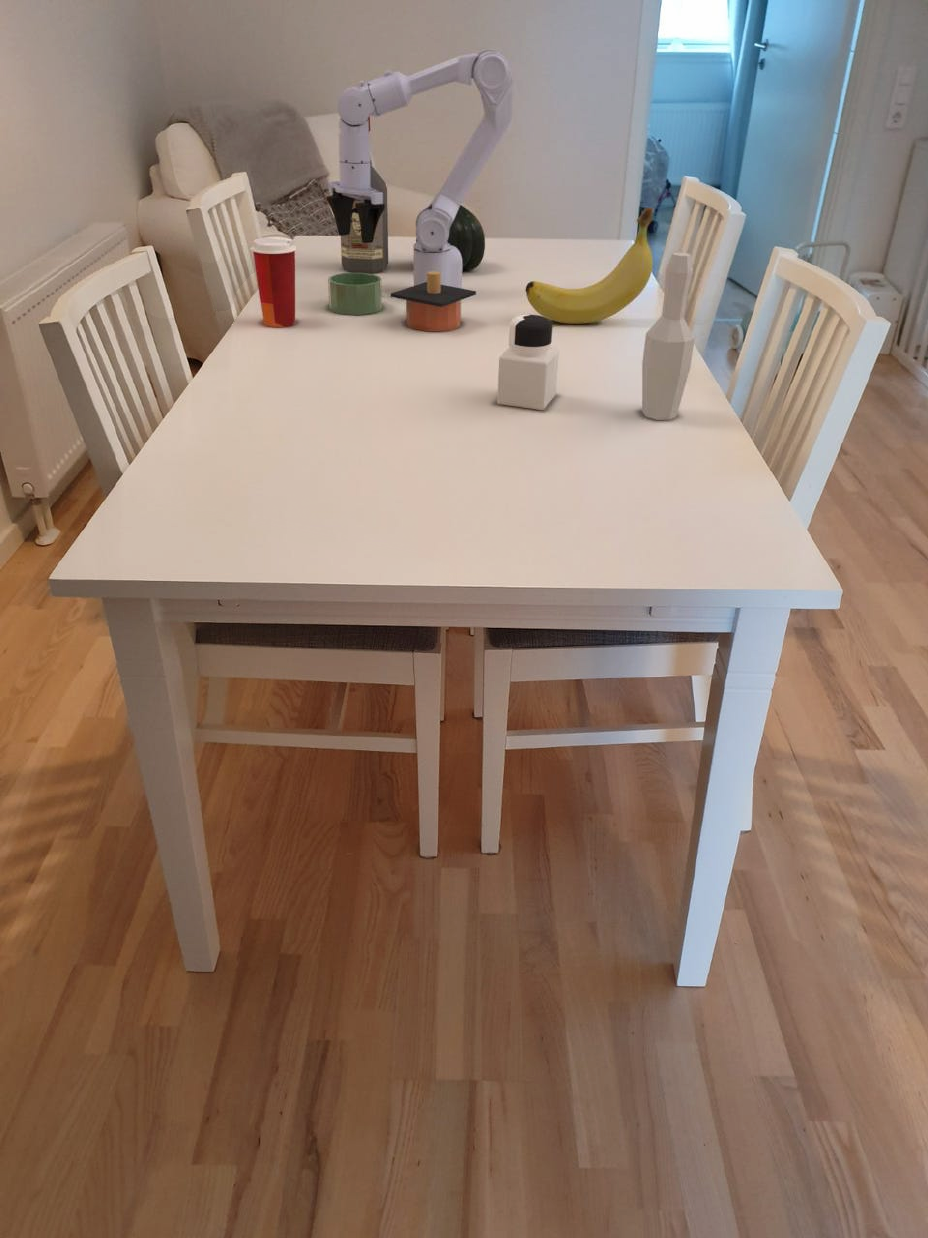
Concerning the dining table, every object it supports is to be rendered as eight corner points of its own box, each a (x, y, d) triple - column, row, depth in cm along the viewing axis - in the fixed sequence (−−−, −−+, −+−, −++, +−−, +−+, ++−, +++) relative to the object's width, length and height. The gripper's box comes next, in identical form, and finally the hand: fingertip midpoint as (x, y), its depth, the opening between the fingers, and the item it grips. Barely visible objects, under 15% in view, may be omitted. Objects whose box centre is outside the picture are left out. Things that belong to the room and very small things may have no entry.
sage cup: (361, 298, 188) (360, 269, 185) (392, 309, 182) (391, 279, 179) (319, 306, 182) (317, 277, 179) (350, 317, 176) (348, 287, 173)
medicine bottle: (556, 395, 144) (562, 314, 137) (543, 411, 138) (549, 327, 131) (510, 389, 145) (514, 308, 139) (496, 404, 140) (499, 321, 133)
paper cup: (305, 318, 175) (300, 237, 168) (295, 329, 169) (289, 246, 161) (263, 315, 176) (256, 235, 168) (251, 327, 169) (244, 244, 162)
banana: (525, 326, 174) (532, 208, 163) (521, 317, 179) (528, 202, 168) (647, 327, 176) (662, 210, 165) (640, 318, 181) (654, 204, 170)
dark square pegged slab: (426, 284, 178) (426, 262, 176) (476, 294, 173) (476, 271, 171) (390, 296, 170) (390, 273, 168) (441, 307, 165) (442, 283, 163)
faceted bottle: (654, 424, 134) (677, 261, 123) (628, 410, 139) (647, 251, 127) (690, 418, 137) (716, 257, 125) (663, 404, 142) (685, 247, 130)
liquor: (349, 262, 214) (344, 110, 198) (390, 264, 213) (387, 112, 197) (339, 271, 206) (333, 114, 190) (381, 274, 205) (378, 116, 189)
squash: (485, 253, 200) (484, 187, 202) (413, 253, 200) (414, 188, 203) (485, 287, 214) (484, 225, 216) (418, 287, 214) (418, 226, 217)
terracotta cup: (436, 313, 180) (437, 286, 177) (471, 325, 174) (472, 297, 171) (395, 322, 175) (395, 293, 172) (430, 334, 168) (430, 305, 166)
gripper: (314, 157, 180) (317, 233, 187) (360, 167, 171) (361, 247, 179) (345, 155, 184) (346, 230, 192) (392, 165, 175) (391, 243, 183)
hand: (355, 238), depth 185 cm, fingers open, 7 cm apart
